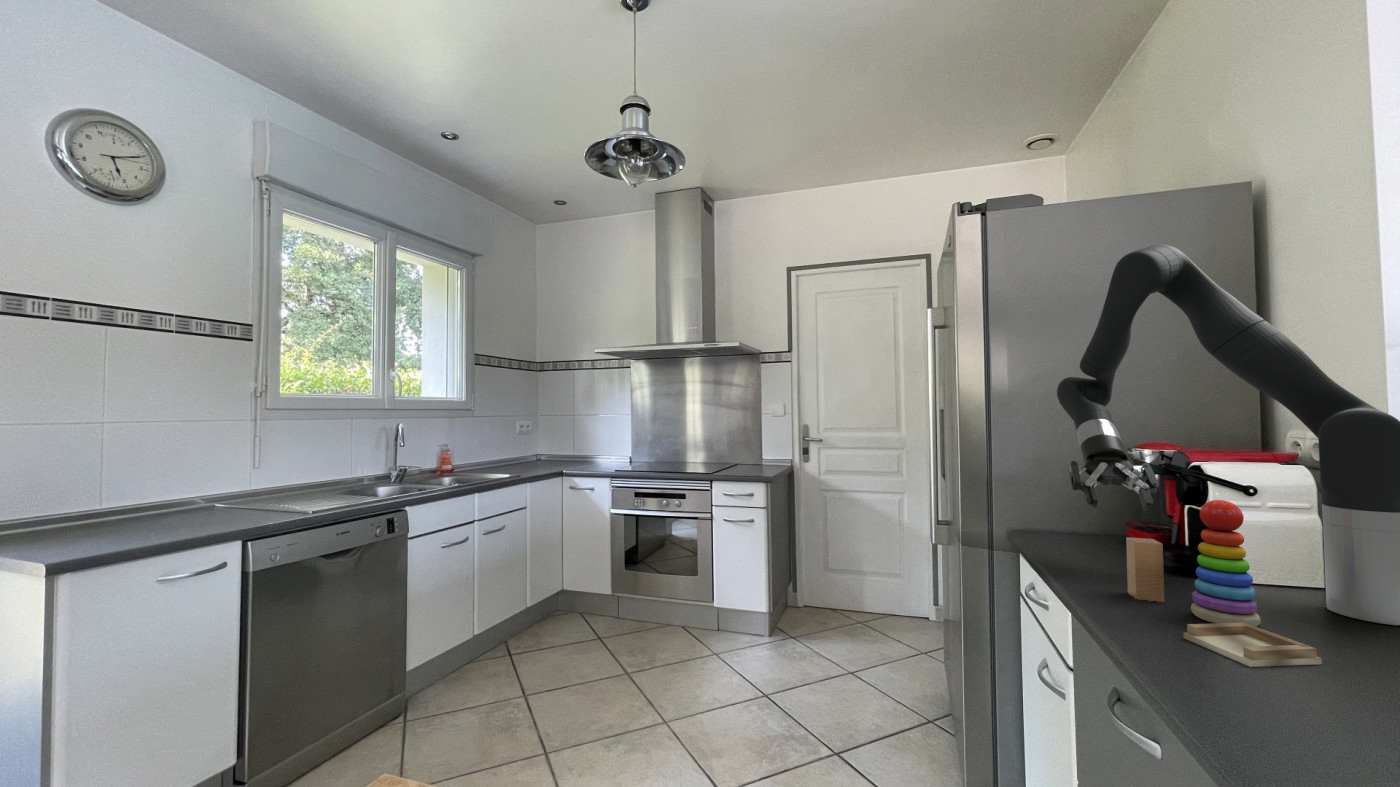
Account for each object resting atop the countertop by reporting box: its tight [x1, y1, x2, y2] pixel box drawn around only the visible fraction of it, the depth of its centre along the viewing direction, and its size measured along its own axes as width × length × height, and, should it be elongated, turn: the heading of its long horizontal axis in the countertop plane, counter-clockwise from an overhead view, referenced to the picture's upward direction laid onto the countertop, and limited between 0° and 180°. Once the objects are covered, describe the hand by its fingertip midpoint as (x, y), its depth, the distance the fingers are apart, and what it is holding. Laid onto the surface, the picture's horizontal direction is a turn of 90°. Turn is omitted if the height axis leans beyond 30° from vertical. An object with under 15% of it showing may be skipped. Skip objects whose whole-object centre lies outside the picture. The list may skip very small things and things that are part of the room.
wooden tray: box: [1183, 623, 1322, 668], centre depth 76 cm, size 10×9×2 cm
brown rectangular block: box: [1125, 537, 1165, 603], centre depth 98 cm, size 4×4×10 cm
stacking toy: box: [1190, 499, 1262, 627], centre depth 87 cm, size 8×8×19 cm
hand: (1121, 506), depth 108 cm, fingers open, 8 cm apart
